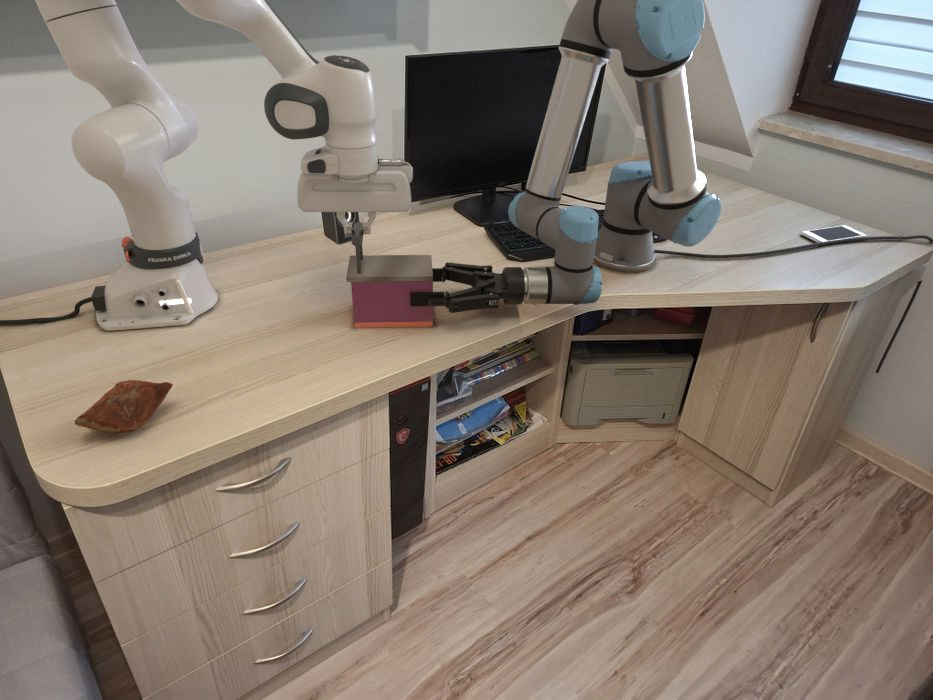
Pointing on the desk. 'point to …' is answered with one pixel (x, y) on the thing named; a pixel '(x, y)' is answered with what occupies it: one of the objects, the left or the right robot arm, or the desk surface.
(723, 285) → the desk surface
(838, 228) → the smartphone
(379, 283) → the chest
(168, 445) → the desk surface
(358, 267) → the lid
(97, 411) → the fossil
